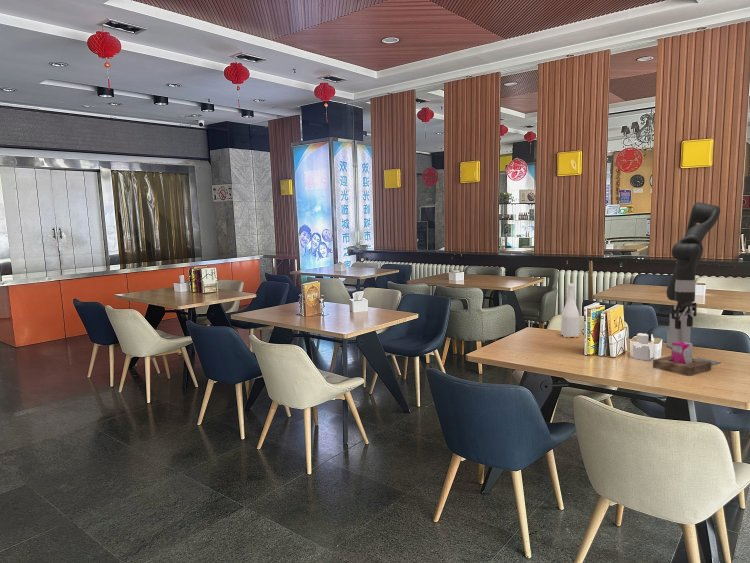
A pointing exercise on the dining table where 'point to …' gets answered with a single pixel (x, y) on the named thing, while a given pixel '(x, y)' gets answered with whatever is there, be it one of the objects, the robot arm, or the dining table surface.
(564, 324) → the wine bottle
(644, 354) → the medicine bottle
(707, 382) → the dining table surface
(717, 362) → the mat
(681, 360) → the supplement box
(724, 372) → the dining table surface
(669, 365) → the frame
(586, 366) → the dining table surface
